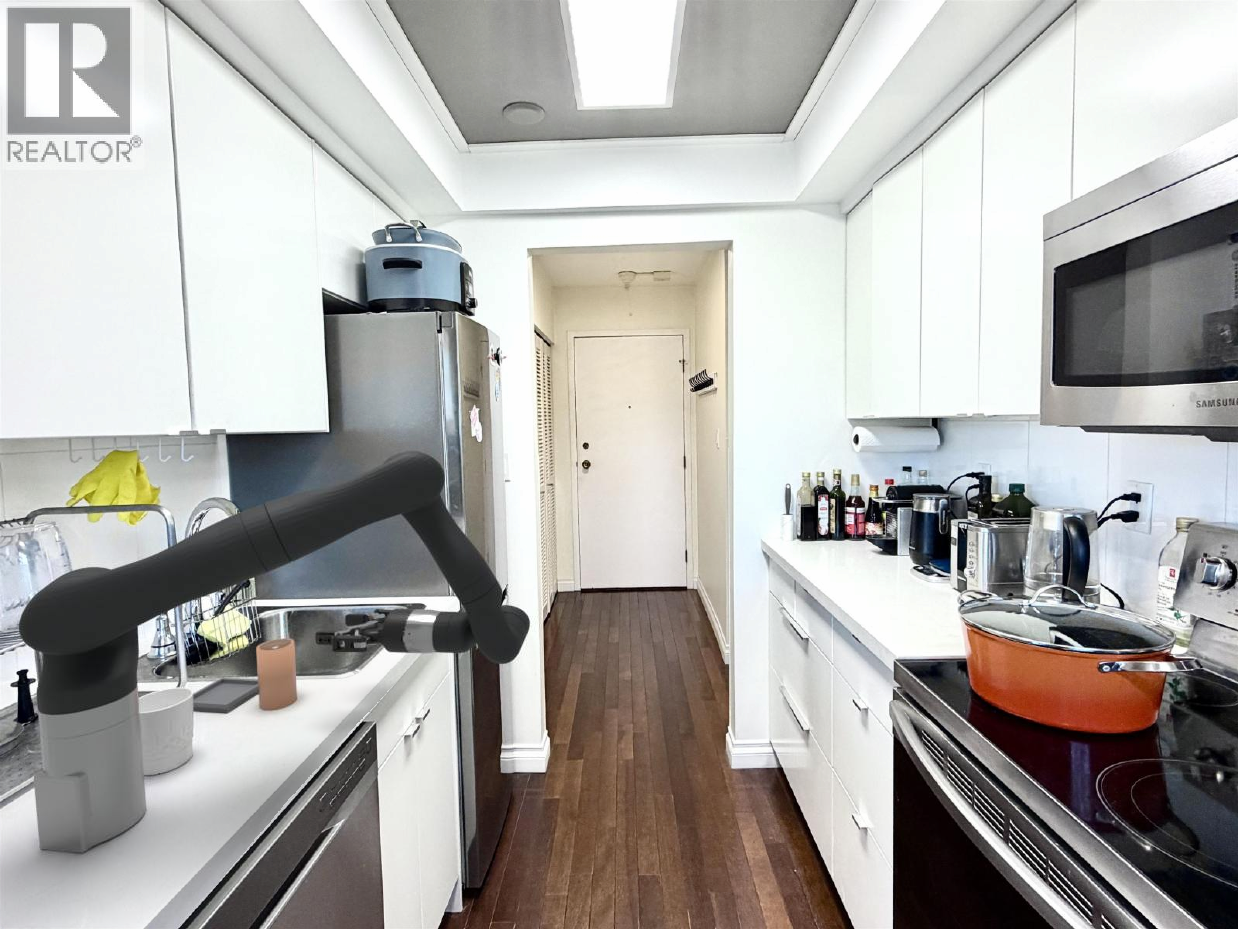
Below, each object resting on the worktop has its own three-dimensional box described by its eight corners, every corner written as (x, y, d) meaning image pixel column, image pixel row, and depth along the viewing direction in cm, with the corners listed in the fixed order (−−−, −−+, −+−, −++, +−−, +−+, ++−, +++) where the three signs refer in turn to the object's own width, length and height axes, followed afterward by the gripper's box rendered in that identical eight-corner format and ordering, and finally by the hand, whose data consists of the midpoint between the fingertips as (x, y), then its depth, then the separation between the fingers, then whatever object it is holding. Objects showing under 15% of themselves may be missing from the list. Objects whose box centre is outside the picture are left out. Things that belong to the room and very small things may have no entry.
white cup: (139, 785, 80) (134, 718, 79) (124, 765, 85) (120, 702, 84) (204, 759, 86) (200, 697, 86) (187, 741, 91) (184, 682, 90)
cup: (281, 711, 101) (278, 651, 100) (251, 709, 101) (248, 650, 100) (304, 695, 107) (301, 638, 106) (275, 693, 107) (272, 637, 106)
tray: (227, 713, 100) (226, 704, 100) (179, 710, 101) (178, 701, 101) (267, 688, 109) (266, 680, 109) (222, 685, 111) (222, 677, 110)
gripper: (433, 597, 106) (353, 595, 108) (394, 625, 92) (304, 622, 94) (435, 635, 107) (356, 633, 109) (397, 669, 93) (307, 665, 95)
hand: (332, 628), depth 102 cm, fingers open, 8 cm apart
